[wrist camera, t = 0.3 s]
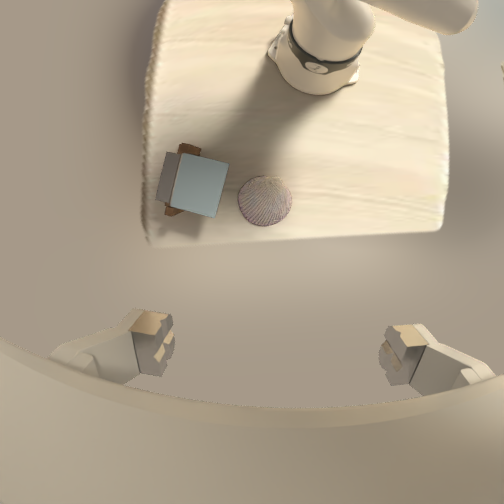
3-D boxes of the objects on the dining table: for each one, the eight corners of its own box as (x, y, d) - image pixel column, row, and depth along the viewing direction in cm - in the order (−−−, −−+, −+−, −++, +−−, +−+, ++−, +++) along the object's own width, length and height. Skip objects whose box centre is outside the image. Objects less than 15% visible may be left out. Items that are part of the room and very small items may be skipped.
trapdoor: (175, 151, 47) (166, 149, 42) (232, 164, 47) (229, 163, 43) (163, 199, 50) (154, 202, 45) (219, 214, 50) (214, 218, 45)
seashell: (304, 188, 48) (279, 236, 49) (297, 192, 54) (274, 235, 54) (255, 161, 47) (228, 209, 48) (253, 167, 53) (228, 210, 53)
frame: (181, 144, 50) (166, 139, 42) (201, 148, 50) (189, 144, 42) (166, 204, 53) (150, 210, 45) (185, 210, 53) (171, 216, 45)
